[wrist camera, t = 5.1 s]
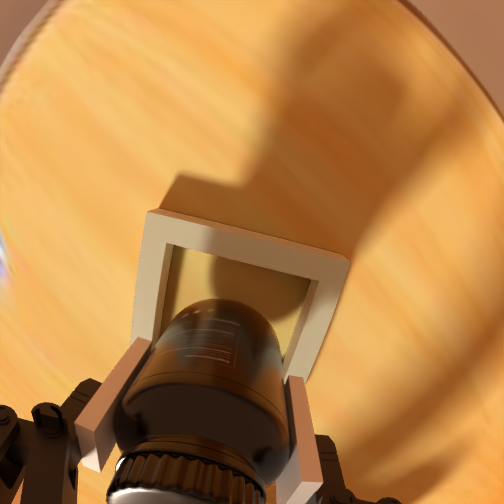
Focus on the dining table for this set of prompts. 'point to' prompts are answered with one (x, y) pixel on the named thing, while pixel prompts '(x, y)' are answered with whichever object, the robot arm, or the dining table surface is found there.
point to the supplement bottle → (204, 412)
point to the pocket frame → (244, 250)
